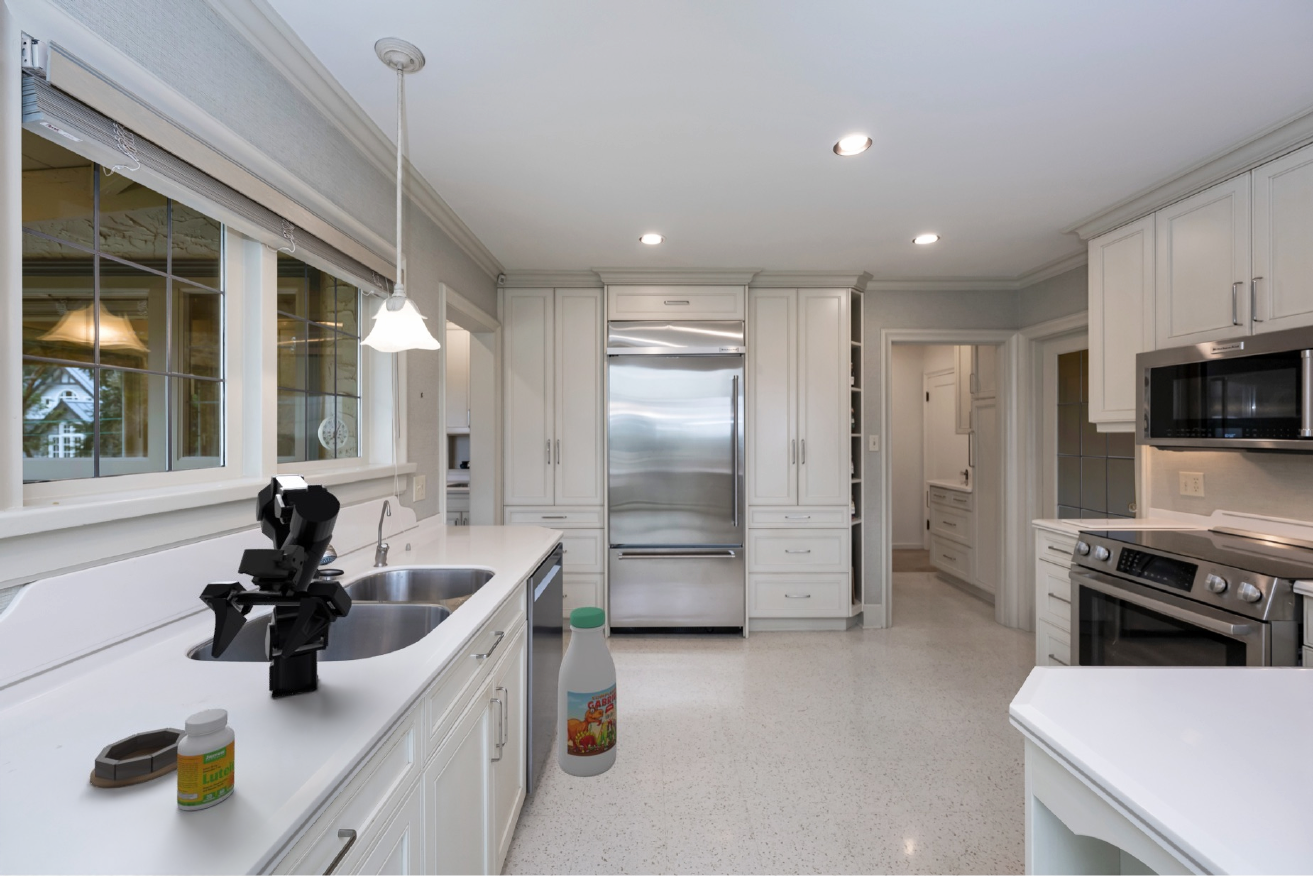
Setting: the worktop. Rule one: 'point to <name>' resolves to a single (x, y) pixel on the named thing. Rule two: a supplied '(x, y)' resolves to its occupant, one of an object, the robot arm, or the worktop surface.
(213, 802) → the supplement bottle
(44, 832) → the worktop surface
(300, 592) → the robot arm
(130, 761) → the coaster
